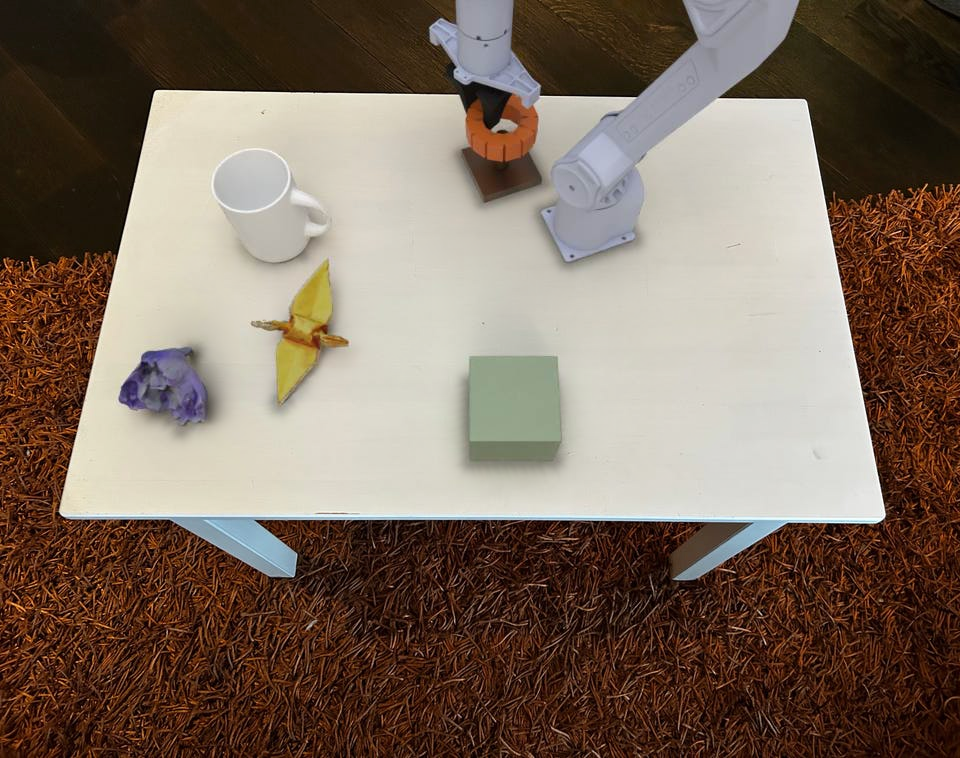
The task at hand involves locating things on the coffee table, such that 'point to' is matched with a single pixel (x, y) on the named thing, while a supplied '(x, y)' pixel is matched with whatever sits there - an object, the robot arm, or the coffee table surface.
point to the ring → (502, 144)
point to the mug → (266, 204)
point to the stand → (500, 173)
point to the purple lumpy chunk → (166, 385)
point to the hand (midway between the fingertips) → (482, 118)
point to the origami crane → (304, 331)
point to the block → (514, 408)
